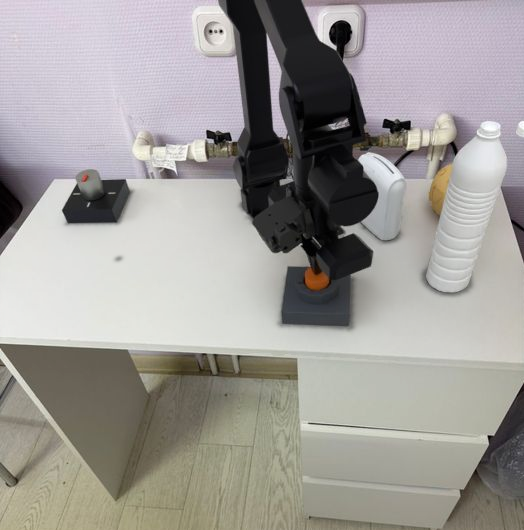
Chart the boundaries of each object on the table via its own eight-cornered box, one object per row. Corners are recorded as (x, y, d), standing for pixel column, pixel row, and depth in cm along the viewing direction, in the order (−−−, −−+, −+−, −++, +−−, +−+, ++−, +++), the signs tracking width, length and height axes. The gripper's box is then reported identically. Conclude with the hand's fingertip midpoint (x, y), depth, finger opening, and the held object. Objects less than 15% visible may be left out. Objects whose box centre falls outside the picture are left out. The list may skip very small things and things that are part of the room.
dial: (87, 187, 98) (78, 168, 94) (108, 187, 97) (100, 167, 94) (80, 200, 95) (71, 181, 92) (101, 200, 95) (94, 180, 91)
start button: (329, 274, 75) (329, 265, 74) (328, 291, 73) (328, 282, 72) (305, 273, 76) (305, 265, 74) (304, 290, 73) (304, 281, 72)
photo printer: (349, 213, 90) (352, 150, 81) (368, 205, 91) (375, 142, 82) (381, 244, 84) (389, 180, 75) (402, 236, 85) (413, 171, 76)
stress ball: (487, 205, 89) (504, 153, 81) (477, 238, 83) (494, 186, 76) (431, 195, 92) (442, 144, 84) (418, 226, 87) (428, 175, 79)
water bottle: (425, 291, 77) (463, 138, 57) (425, 263, 81) (460, 110, 61) (485, 296, 75) (545, 139, 56) (482, 267, 79) (537, 111, 59)
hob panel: (130, 191, 101) (125, 178, 99) (116, 222, 95) (111, 208, 92) (83, 192, 102) (78, 179, 100) (67, 223, 96) (61, 209, 94)
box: (349, 279, 80) (351, 258, 76) (348, 326, 74) (350, 305, 70) (288, 278, 81) (287, 257, 78) (282, 323, 75) (280, 303, 72)
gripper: (228, 162, 65) (242, 254, 77) (293, 242, 54) (297, 335, 66) (303, 138, 67) (305, 231, 79) (381, 209, 56) (369, 305, 68)
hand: (316, 272), depth 73 cm, fingers closed
